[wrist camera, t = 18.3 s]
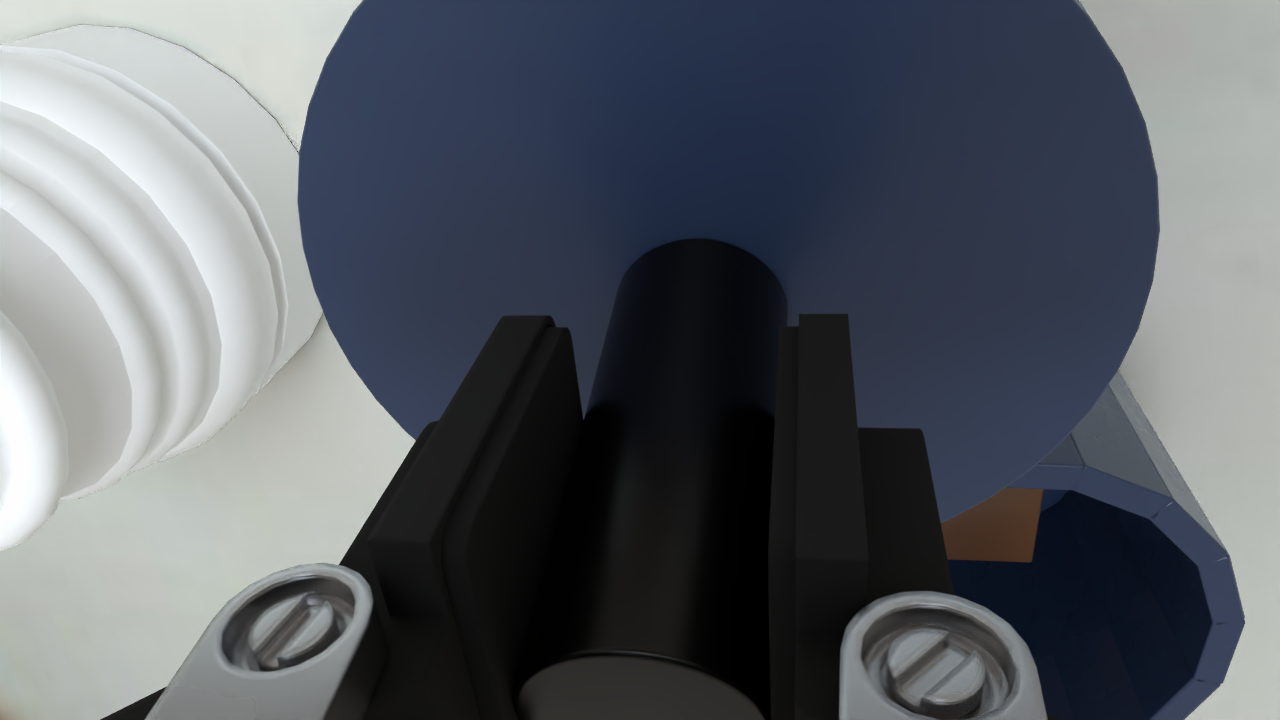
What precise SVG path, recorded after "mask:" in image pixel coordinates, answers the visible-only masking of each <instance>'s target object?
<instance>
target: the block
mask: <svg viewBox="0 0 1280 720" xmlns="http://www.w3.org/2000/svg"><path fill="white" fill-rule="evenodd" d="M1043 492H1044V489H1026V488H1004V489H1002V490H1001V491H999V492H998V493H996V494H995V495H994V496H992V497H991V498H989V499H987V500H985V501H983V502H981V503H980V504H978V505H976V506H974V507H972V508H970V509H968V510H966V511H965V512H963V513H961V514H959V515H957V516H955V517H953V518H951V519H949V520H947V521H944V522H942V523H941V527H942V533H943V538H944V543H945V548H946V554H947V559H948V560H974V561H1003V562H1032V559H1033V553H1034V547H1035V540H1036V534H1037V528H1038V522H1039V516H1040V510H1041V504H1042V498H1043Z"/></svg>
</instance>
